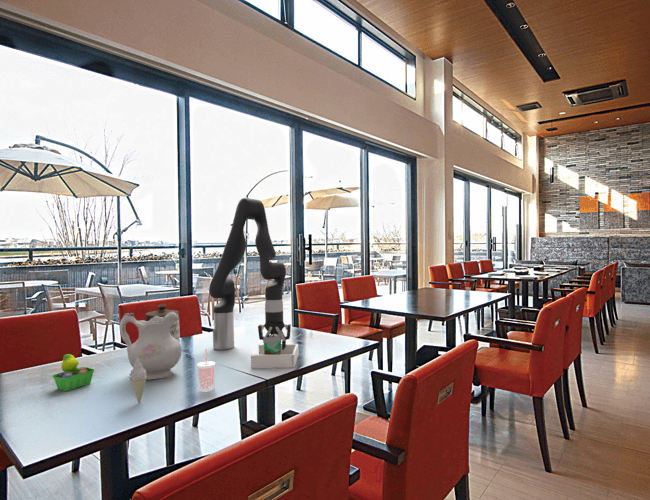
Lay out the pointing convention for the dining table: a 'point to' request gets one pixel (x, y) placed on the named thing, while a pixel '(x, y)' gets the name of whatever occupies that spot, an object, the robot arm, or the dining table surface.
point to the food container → (272, 344)
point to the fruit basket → (72, 374)
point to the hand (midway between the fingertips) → (274, 349)
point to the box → (276, 358)
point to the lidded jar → (161, 313)
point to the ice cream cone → (138, 379)
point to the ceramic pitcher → (153, 344)
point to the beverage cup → (206, 374)
